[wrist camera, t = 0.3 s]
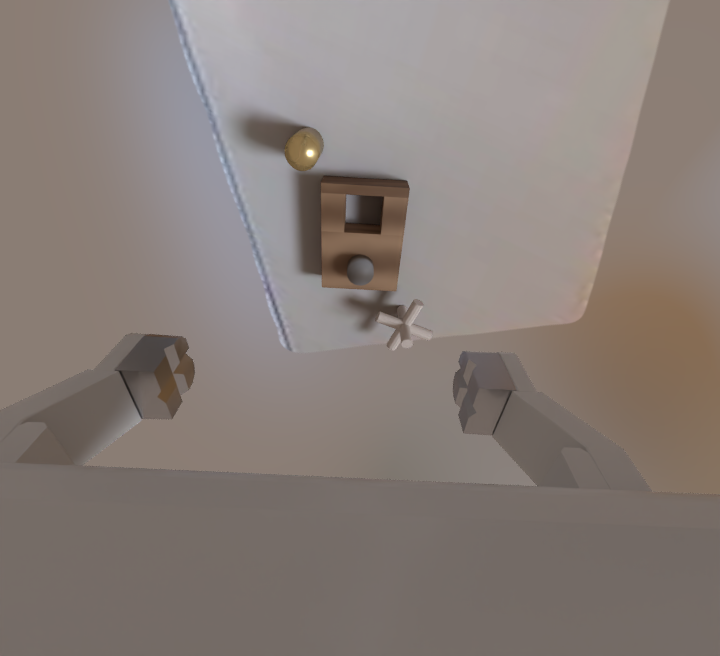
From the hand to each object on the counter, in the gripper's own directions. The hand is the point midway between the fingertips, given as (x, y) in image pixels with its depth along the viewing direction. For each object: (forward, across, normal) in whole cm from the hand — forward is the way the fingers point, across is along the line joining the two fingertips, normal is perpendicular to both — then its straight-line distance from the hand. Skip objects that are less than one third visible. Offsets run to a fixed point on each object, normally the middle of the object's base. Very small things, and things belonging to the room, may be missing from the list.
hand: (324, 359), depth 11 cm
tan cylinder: (+46, +7, +1) cm, 46 cm away
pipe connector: (+46, -9, +27) cm, 54 cm away
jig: (+46, -1, +13) cm, 48 cm away
